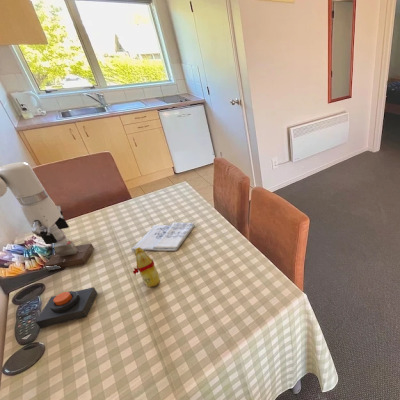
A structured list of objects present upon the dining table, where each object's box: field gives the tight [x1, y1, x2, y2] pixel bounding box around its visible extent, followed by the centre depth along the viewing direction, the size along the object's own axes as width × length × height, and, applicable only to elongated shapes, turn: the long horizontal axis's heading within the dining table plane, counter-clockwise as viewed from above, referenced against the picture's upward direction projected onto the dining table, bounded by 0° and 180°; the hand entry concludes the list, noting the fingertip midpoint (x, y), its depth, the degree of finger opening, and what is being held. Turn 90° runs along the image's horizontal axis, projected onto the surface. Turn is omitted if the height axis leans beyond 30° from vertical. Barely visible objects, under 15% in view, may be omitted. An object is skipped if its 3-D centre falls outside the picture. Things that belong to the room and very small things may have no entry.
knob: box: [53, 240, 78, 257], centre depth 106 cm, size 6×2×5 cm, turn 109°
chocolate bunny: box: [132, 247, 161, 288], centre depth 95 cm, size 7×11×15 cm, turn 41°
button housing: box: [35, 286, 99, 329], centre depth 86 cm, size 12×10×5 cm
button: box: [53, 291, 72, 306], centre depth 85 cm, size 4×4×2 cm
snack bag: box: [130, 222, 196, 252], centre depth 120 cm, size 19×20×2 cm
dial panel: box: [44, 242, 95, 272], centre depth 108 cm, size 12×10×3 cm
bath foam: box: [40, 223, 69, 244], centre depth 112 cm, size 7×7×20 cm
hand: (58, 235), depth 102 cm, fingers open, 9 cm apart
